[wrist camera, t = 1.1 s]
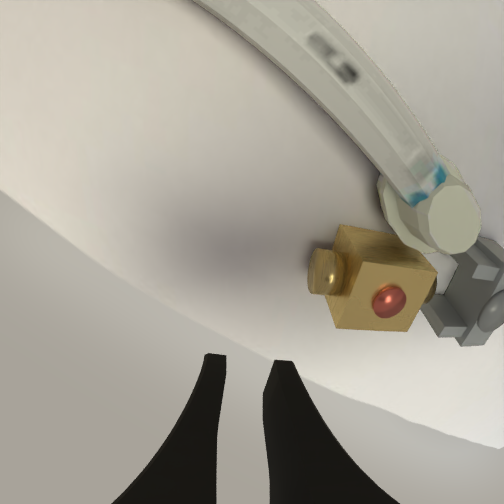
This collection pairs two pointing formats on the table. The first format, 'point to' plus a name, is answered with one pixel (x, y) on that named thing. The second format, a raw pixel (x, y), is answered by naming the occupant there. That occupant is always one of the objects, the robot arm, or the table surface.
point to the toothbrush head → (363, 118)
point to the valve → (371, 280)
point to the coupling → (471, 296)
